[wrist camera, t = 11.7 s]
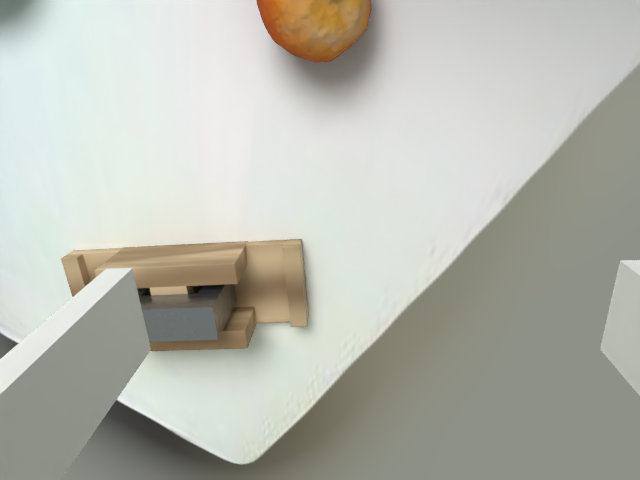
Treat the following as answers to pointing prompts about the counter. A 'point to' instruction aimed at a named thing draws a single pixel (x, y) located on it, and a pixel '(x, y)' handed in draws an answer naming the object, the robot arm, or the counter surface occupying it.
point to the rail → (211, 281)
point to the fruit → (315, 25)
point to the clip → (187, 313)
